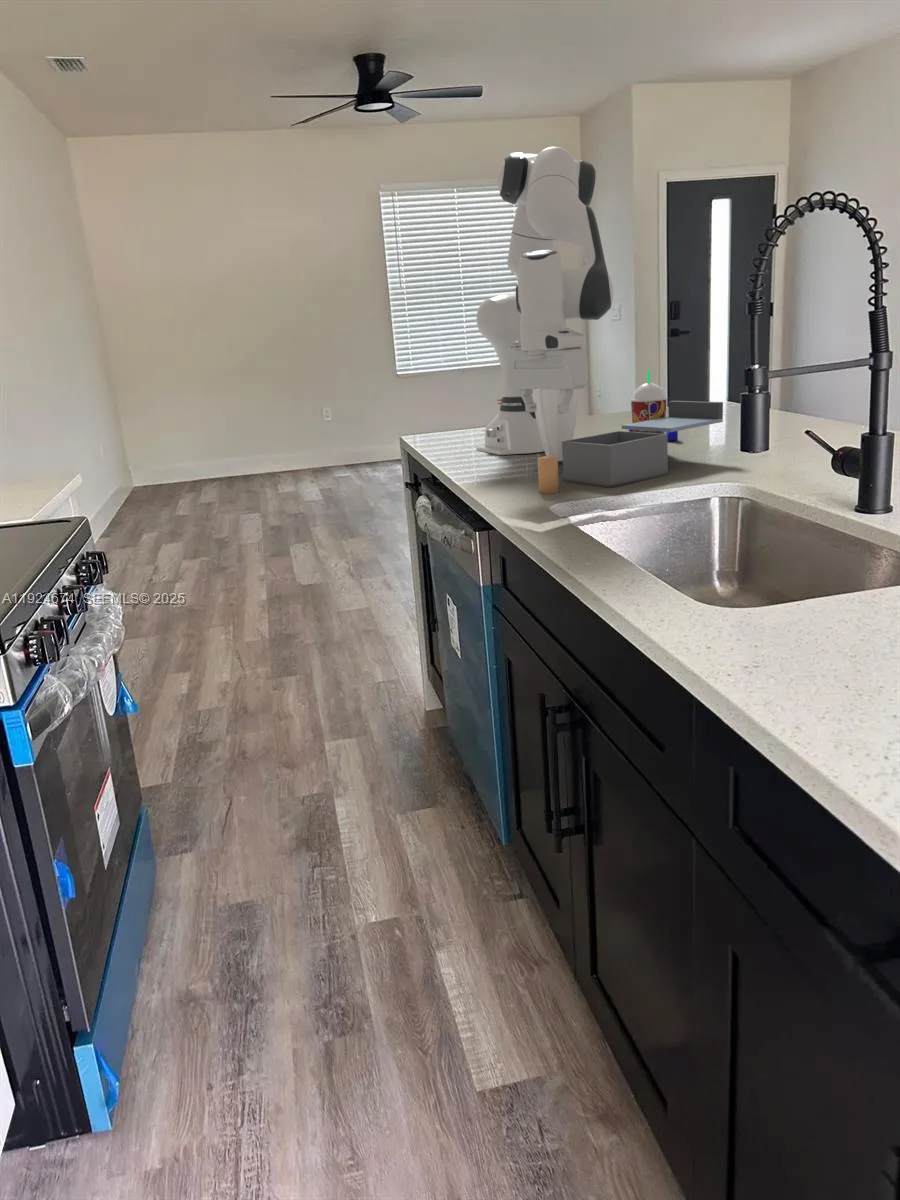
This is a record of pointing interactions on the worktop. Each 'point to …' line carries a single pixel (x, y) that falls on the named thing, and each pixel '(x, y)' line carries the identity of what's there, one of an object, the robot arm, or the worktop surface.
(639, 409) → the smoothie
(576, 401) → the cup
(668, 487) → the worktop surface
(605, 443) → the box
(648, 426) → the lid
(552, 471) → the orange cylinder
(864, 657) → the worktop surface
